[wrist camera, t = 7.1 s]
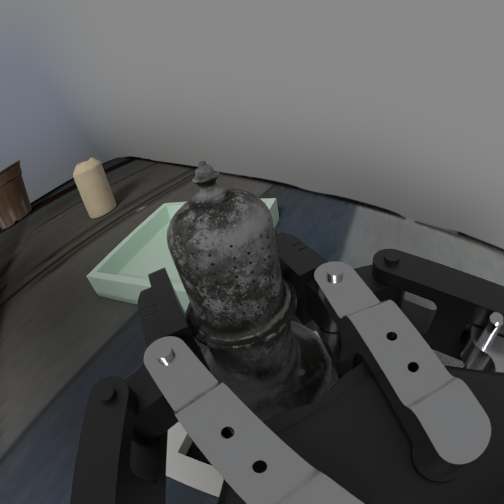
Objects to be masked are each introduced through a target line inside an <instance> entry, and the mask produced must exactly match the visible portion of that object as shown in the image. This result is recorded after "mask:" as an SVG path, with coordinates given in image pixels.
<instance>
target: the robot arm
mask: <svg viewBox="0 0 504 504" xmlns="http://www.w3.org/2000/svg"><path fill="white" fill-rule="evenodd" d="M275 237H276V243H277V250H278V256H279V263H280V269H281V275H282V276H284V277H285V278H286V279H287V280H288V281H289V282H290V283H291V284H292V285H293V287H294V289H295V290H296V295H297V307H296V311H295V315H296V316H297V317H298V318H299V319H300V321H301V322H302V323H303V324H306V323H308V322H310V321H312V320H314V321H315V322H316V323H317V332H318V335H319V337H320V338H321V340H322V342H323V344H324V346H325V348H326V350H327V352H328V354H329V356H330V358H331V360H332V362H333V364H334V366H335V368H336V370H337V373H338V378H339V381H338V382H337V383H336V384H335V385H334V386H333V387H332V388H331V389H330V390H329V391H328V392H327V393H326V394H325V395H324V396H323V397H322V398H321V399H320V400H319V401H317V402H314V403H311V404H307V405H304V406H301V407H297V408H294V409H291V410H287V411H283V412H280V413H278V414H276V415H274V416H272V417H270V418H268V419H266V420H264V421H261V420H260V419H259V418H258V417H257V416H256V415H255V414H254V413H253V412H252V411H251V410H250V409H249V408H248V407H247V406H246V405H245V404H244V403H243V402H242V401H241V400H240V399H239V398H238V397H237V396H236V395H235V394H234V393H233V392H232V391H231V390H230V389H229V388H228V387H227V386H226V385H225V384H224V383H223V382H222V381H220V382H219V381H217V380H216V379H215V377H214V376H213V375H212V374H211V373H210V372H209V371H210V368H209V366H208V364H207V362H206V360H205V358H204V355H203V353H202V351H201V349H200V347H199V344H198V342H197V340H196V338H195V337H194V336H193V334H192V332H191V330H190V328H189V325H188V323H187V320H186V315H185V312H184V310H183V308H182V305H181V303H180V301H179V299H178V296H177V294H176V292H175V290H174V287H173V285H172V283H171V280H170V278H169V276H168V273H167V271H166V269H165V267H164V268H162V269H160V270H157V271H155V272H152V273H150V274H148V277H149V281H150V285H151V287H150V288H148V289H145V290H143V291H141V292H140V295H139V298H138V301H137V303H138V308H139V311H140V312H139V313H140V317H141V322H142V326H143V331H144V335H145V339H146V344H147V350H146V351H145V354H144V364H143V365H142V367H141V368H140V369H139V370H138V371H137V372H136V373H134V374H133V375H132V376H130V377H129V378H128V379H126V380H125V381H124V380H123V379H122V378H120V377H116V376H111V377H106V378H104V379H102V380H101V381H99V382H98V383H97V384H96V385H95V386H94V388H93V389H92V391H91V394H90V397H89V401H88V405H87V409H86V414H85V418H84V423H83V427H82V432H81V437H80V442H79V447H78V453H77V459H76V465H75V471H74V478H73V485H72V493H71V503H70V504H165V489H166V457H167V438H168V430H169V429H170V428H171V427H172V426H174V425H175V424H176V423H177V422H180V423H181V425H182V426H183V428H184V429H185V430H186V432H187V433H188V435H189V436H190V437H191V439H192V440H193V441H194V443H195V444H196V445H197V446H198V448H199V449H200V450H201V452H202V453H203V454H204V455H205V457H206V458H207V459H208V460H209V462H210V463H211V464H212V465H213V467H214V468H215V469H216V470H217V471H218V472H219V474H220V475H221V476H222V477H223V478H224V480H223V484H222V488H221V492H220V495H219V499H218V503H217V504H504V286H501V285H498V284H496V283H493V282H490V281H487V280H485V279H482V278H479V277H476V276H473V275H471V274H468V273H465V272H462V271H459V270H456V269H453V268H451V267H448V266H445V265H442V264H439V263H436V262H433V261H430V260H427V259H424V258H421V257H418V256H414V255H411V254H408V253H405V252H402V251H399V250H395V249H384V250H381V251H378V252H377V253H376V254H375V255H374V257H373V265H369V266H365V267H361V268H356V269H353V268H352V267H351V266H350V265H348V264H346V263H343V262H328V261H326V260H325V259H324V258H322V257H321V256H320V255H318V254H317V253H316V252H314V251H313V250H312V249H310V248H309V247H307V246H306V245H305V244H304V243H301V241H300V240H298V239H297V238H296V237H294V236H293V235H289V234H286V233H280V234H277V233H275ZM405 291H407V292H409V293H412V294H415V295H418V296H420V297H423V298H426V299H428V300H431V301H433V302H434V303H435V304H436V306H437V310H430V309H427V308H424V307H422V306H419V305H417V304H414V303H411V302H409V301H406V300H403V298H404V293H405ZM431 348H432V349H434V350H437V351H439V352H441V353H444V354H446V355H449V356H451V357H454V358H456V359H459V360H461V361H463V363H464V364H463V368H458V367H451V366H444V365H443V364H442V362H441V361H440V360H439V358H438V357H437V356H436V354H435V353H434V352H433V350H432V349H431Z"/></svg>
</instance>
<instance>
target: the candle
mask: <svg viewBox="0 0 504 504" xmlns="http://www.w3.org/2000/svg"><path fill="white" fill-rule="evenodd" d="M73 177H74V180H75V182H76V185H77V187H78V190H79V192H80V195H81V197H82V200H83V202H84V205H85V207H86V209H87V212H88V214H89V216H90V218H92V219H94V218H98V217H101V216H103V215H105V214H107V213H109V212H110V211H112V210H113V209H114V208H115V207H116V202H115V199H114V196H113V194H112V191H111V189H110V186H109V183H108V180H107V178H106V175H105V172H104V169H103V167H102V164H101V162H100V161H98V160H96V159H94V158H93V157H91V158H90V160H89V161H86V162H82V163H80V164H79V163H78V164H77V165H76V168H75V171H74V174H73Z"/></svg>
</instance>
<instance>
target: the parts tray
mask: <svg viewBox="0 0 504 504" xmlns="http://www.w3.org/2000/svg"><path fill="white" fill-rule="evenodd" d="M261 200H262V201H263V202H264V203H265V204H266V205H267V207H268V209H269V211H270V213H271V215H272V219H273V225H274V229H275V227H276V225H277V223H278V221H279V213H278V207H277V201H276V198H272V199H261ZM185 203H186V202H176V203H164V204H163V205H162V206H161V207H160V208H158V209H157V210H156V211H155V212H154V213H153V214H152V215H150V216H149V217H148V218H147V219H146V220H145V221H144V222H143V223H141V224H140V225H139V226H138V227H137V228H136V229H135V230H134V231H133V232H132V233H130V234H129V235H128V236H127V237H126V238H125V239H124V240H123V241H122V242H121V243H120V244H119V245H118V246H117V247H115V248H114V249H113V250H112V251H111V252H110V253H109V254H108V255H107V256H106V257H105V258H104V259H103V260H102V261H101V262H100V263H99V264H98V265H97V266H96V267H95V268H94V269H93V270H92V271H91V272H90V273H89V274H88V275H87V278H88V280H89V281H90V283H91V285H92V286H93V288H94V290H95V291H96V293H97V295H98V296H102V297H106V298H110V299H114V300H119V301H123V302H128V303H132V304H137V305H138V303H137V301H138V298H139V295H140V292H141V291H143V290H145V289H148V288H150V287H151V285H150V281H149V277H148V274H150V273H152V272H155V271H157V270H160V269H162V268H164V267H165V269H166V271H167V273H168V276H169V278H170V280H171V283H172V285H173V287H174V290H175V292H176V294H177V296H178V299H179V301H180V303H181V305H182V308H183V310H184V312H185V314H186V311H187V308H188V304H189V302H190V301H189V298H188V296H187V293H186V291H185V289H184V286H183V284H182V281H181V279H180V276H179V274H178V272H177V269H176V266H175V264H174V261H173V259H172V256H171V254H170V251H169V249H168V244H167V229H168V226H169V224H170V221H171V219H172V217H173V215H174V214H175V213H176V212H177V211H178V210H179V209H180V208H181V207H182V206H183V205H184V204H185Z"/></svg>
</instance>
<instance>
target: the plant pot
mask: <svg viewBox="0 0 504 504" xmlns="http://www.w3.org/2000/svg"><path fill="white" fill-rule="evenodd" d="M21 173H22V172H21V168H20V161H17V162H15V163H13V164H12V165H10V166H8V167H7V168H5V169H3V170H1V171H0V226H1V228H2V230H4V229H7V228H9V227H11V226H12V225H14V224H15V222H16V221H20V220H21V219H23V218H24V217H26V216H27V215H28V214H29V213H30V212H31V211H32V207H31V204H30V201H29V198H28V196H27V192H26V189H25V186H24V182H23V179H22V175H21Z"/></svg>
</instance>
